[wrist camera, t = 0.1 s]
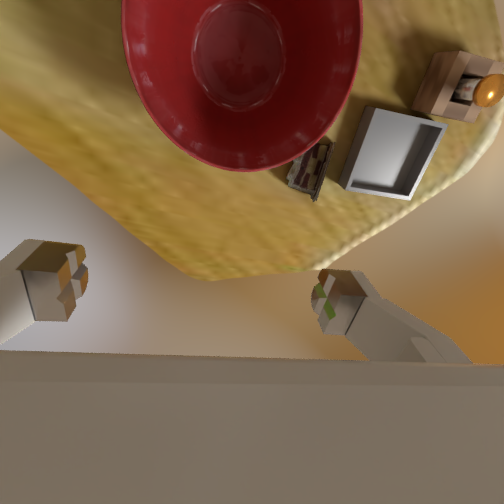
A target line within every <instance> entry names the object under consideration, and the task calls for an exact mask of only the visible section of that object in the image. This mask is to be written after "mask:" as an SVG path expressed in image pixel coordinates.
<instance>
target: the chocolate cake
mask: <svg viewBox="0 0 504 504" xmlns="http://www.w3.org/2000/svg"><path fill="white" fill-rule="evenodd" d="M334 147H335V142H334V143H330V144H329V146H325V145H320V144H318V143H316V144H315V145H313V146H312V147H311V148H310V149H309V150H308V151H306V152H305V153H303V154H302V155H301V156H300V157H297V158H295V159H294V160H292V161H293V162H294V163H293V165H292V167H291V169H290V171H289V173H288V174H287V177H286V179H288V180H289V183H288V186H289V187H291V188H294V189H298V190H299V191H302V192H306V193H308V194H310V195H311V199H312V200H313V202H314V201H315V200H316V201H317V198H318V195H319V192H320V189H321V185H322V183H323V181H324V177H325V174H326V170H327V167H328V165H329V162H330V158H331V155H332V153H333V149H334Z"/></svg>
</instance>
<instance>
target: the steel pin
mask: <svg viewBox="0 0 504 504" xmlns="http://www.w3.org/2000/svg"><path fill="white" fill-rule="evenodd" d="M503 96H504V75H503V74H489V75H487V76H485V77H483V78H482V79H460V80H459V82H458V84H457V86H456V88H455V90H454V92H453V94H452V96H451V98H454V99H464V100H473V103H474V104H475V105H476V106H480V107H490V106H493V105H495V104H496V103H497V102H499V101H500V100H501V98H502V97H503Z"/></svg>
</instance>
